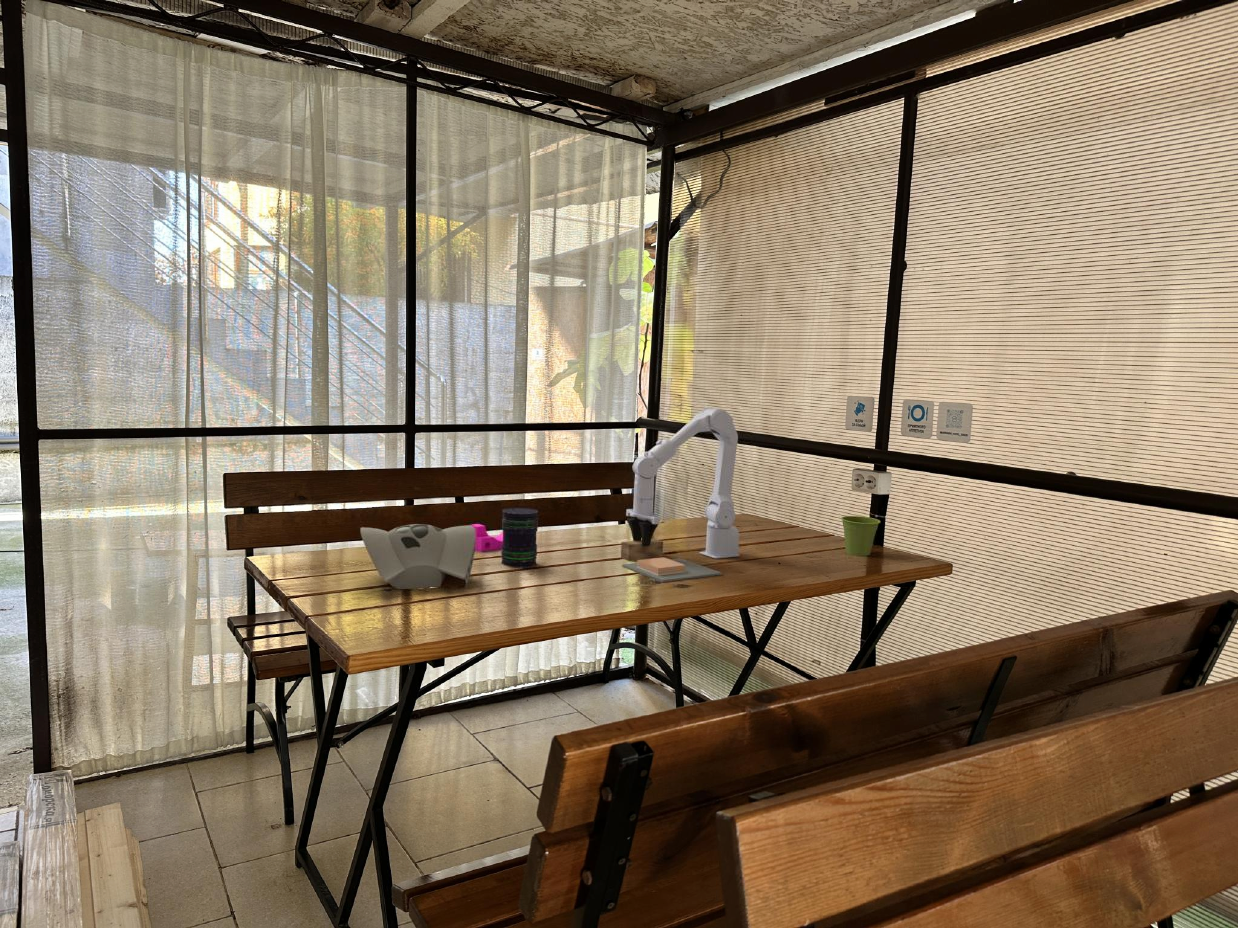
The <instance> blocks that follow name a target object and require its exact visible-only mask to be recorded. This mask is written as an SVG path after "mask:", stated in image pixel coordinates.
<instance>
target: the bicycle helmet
mask: <svg viewBox="0 0 1238 928" xmlns="http://www.w3.org/2000/svg"><path fill="white" fill-rule="evenodd" d="M470 525H471V524H469V525H458V526H452V527H451V526H450V527H448V528H444V529H442V528H440V527H437V526H434V525H430V524H419V523H414V524H406V525H401V526H397V527H395V528H393V529H391V530H389V531H387V530H383V529H380V528H376V527H375V528H373V527H360V530H359V531H360V536H361V539H362V541H363V545H364V547H365V550H366V551H367V553H368V555H369V558H370V560H371V561H372V564H373V566H374V567H375V569H376V571H377V573H378V574H379V576H380V577H381V579H382V580H383V581H384V582H385V583H386V584H387V583H388V584H389V585H390V586H391V587H393V588H394V587H395V588H394V589H396V588H397V589H396V590H399V589H418V590H420V589H419V588H430V587H440V586H450V587H460V586H464V588H466V587H467V585H468V582H469V579H470V577H471V573H472V569H473V568H472V567H473V563H474V559H475V553H476V551H475V544H476V535H475V529H474V527H473V526H470ZM440 588H441V587H440Z"/></svg>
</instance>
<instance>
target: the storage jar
mask: <svg viewBox="0 0 1238 928" xmlns="http://www.w3.org/2000/svg"><path fill="white" fill-rule="evenodd" d="M538 514H539V510H538V509H535V508H529V507H508V508H504V509H502V519H501V520H502V521H501V524H502V526H501V531H502V532H503V544H502V550H500V555H501V565H503V566H507V567H513V568H523V569H526V568H527V569H528V568H529V569H530V568H532V567H536V566H537V556H538V545H537V532H538V529H539V528H538V527H539V526H538V525H539V516H538Z"/></svg>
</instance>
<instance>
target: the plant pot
mask: <svg viewBox="0 0 1238 928" xmlns="http://www.w3.org/2000/svg"><path fill="white" fill-rule="evenodd" d="M840 520H841V521H842V528H843V535H844V547H845V553H846V554H847V555H850V556H854V555H855V556H856V557H868V556H867V555H869V556H870V554H871V551H872V547H873V545H874V540H875V536H876V532H877V530H878V526H879V524H881V520H880V519H877V518H873V517H868V516H861V515H860V516H859V515H858V516H857V515H845V516H841V517H840Z"/></svg>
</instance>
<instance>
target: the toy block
mask: <svg viewBox="0 0 1238 928" xmlns="http://www.w3.org/2000/svg"><path fill="white" fill-rule="evenodd" d="M469 525H470V526H473V527H474V529H475V535H476V544H475V552H487V551H488V552H489V551H501V550H502V544H503V531H502V532H501V533H500V534H498V535H496V536H493V535H492V536H491V535H489V533H488V532H487V529H486V525H483V524H480V523H475V524H469Z"/></svg>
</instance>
